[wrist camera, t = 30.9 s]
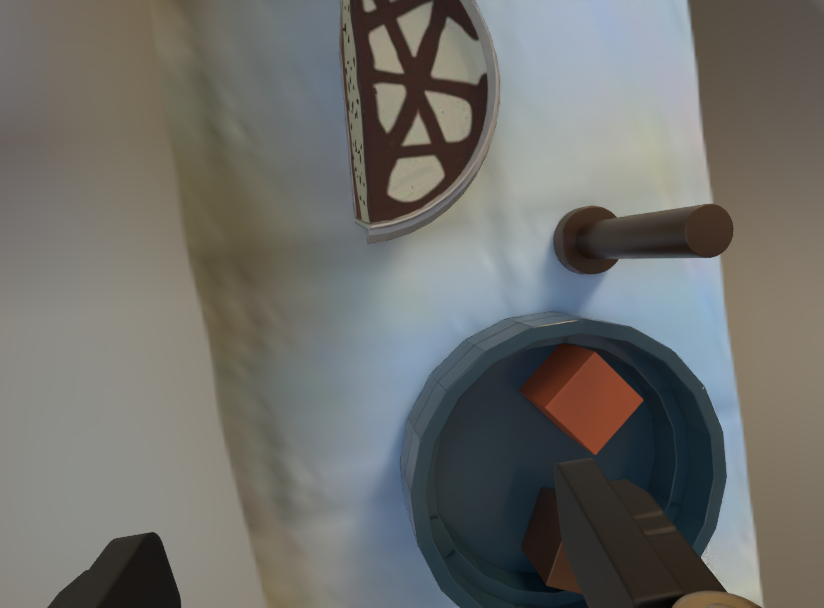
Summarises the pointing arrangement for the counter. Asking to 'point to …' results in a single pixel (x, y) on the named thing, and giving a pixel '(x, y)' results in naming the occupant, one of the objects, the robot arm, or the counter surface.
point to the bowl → (545, 453)
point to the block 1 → (581, 395)
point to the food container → (414, 107)
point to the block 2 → (548, 544)
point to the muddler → (639, 236)
